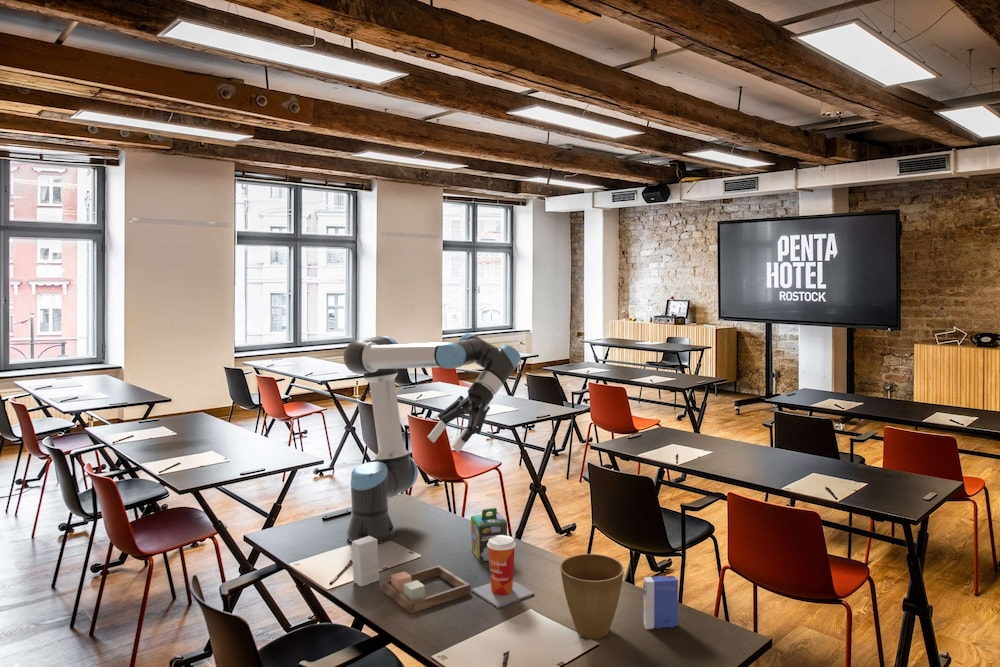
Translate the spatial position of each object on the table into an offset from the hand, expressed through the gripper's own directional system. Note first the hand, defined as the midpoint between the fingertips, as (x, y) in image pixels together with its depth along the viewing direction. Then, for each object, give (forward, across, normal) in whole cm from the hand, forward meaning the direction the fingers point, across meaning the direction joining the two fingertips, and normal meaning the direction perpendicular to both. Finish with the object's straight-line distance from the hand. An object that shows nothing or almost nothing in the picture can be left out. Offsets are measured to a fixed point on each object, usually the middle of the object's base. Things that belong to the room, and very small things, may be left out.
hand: (442, 444), depth 203 cm
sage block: (+39, -18, -11) cm, 44 cm away
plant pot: (+20, -57, -29) cm, 67 cm away
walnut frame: (+35, -15, -15) cm, 41 cm away
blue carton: (+9, -65, -40) cm, 76 cm away
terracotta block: (+39, -11, -11) cm, 42 cm away
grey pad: (+24, -28, -26) cm, 45 cm away
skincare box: (+43, +1, -8) cm, 43 cm away
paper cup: (+23, -27, -26) cm, 44 cm away
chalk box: (+15, -5, -35) cm, 38 cm away
